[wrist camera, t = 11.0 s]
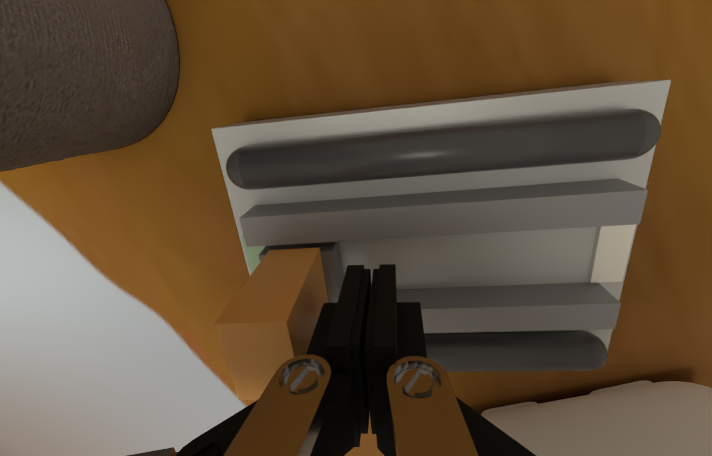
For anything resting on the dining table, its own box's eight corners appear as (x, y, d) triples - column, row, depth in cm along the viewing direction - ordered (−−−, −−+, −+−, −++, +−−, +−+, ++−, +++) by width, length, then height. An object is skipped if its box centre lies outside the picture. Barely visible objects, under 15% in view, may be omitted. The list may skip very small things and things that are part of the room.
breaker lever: (345, 288, 15) (321, 400, 9) (281, 291, 15) (223, 399, 10) (337, 232, 14) (305, 321, 8) (269, 236, 14) (196, 324, 9)
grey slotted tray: (571, 320, 18) (627, 392, 14) (289, 327, 20) (262, 391, 16) (613, 81, 13) (716, 78, 9) (243, 121, 15) (188, 134, 11)
